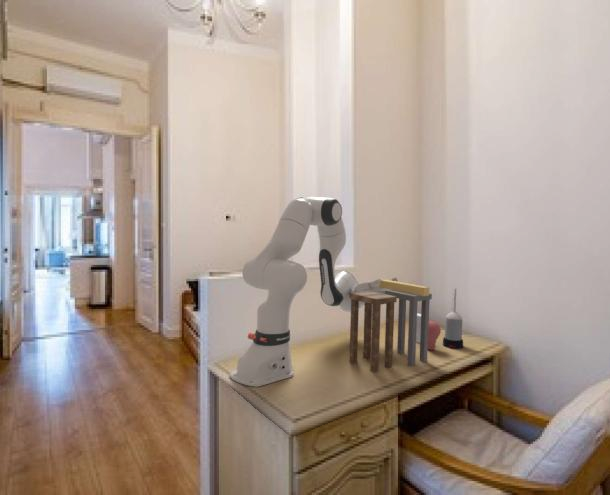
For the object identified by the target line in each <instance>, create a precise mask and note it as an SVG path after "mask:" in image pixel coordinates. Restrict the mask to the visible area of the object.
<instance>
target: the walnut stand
mask: <svg viewBox="0 0 610 495" xmlns="http://www.w3.org/2000/svg"><path fill="white" fill-rule="evenodd" d="M349 298H350V299H351V312H350V326H349V327H350V330H349V331H350V332H349V362H350V363H351V364H355V363H357V362H358V343H359V341H358V339H359V311H360V308H359V301H362V302H365V305H364V314H363V315H364V316H363V317H364V318H363V349H362V350H363V352H362V359H364V360H370V372H372V373H374V374H375V373H378V372H379V370H380V369H379V368H380V367H379V366H380V339H381V337H380V336H381V305H385V307H386V308H385V331H384V332H385V333H384V336H385V337H384V361H383V362H384V364H383V366H384V368H386V369H391V368H392V369H393V358H394V355H393V354H394V351H393V350H394V330H395V329H394V327H395V326H394V325H395V303H397V299H398V298H397V297H396V296H392V295H387V294H382V293H377V292H373V291H362V292H353V293H349Z"/></svg>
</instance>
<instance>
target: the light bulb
mask: <svg viewBox="0 0 610 495" xmlns="http://www.w3.org/2000/svg"><path fill="white" fill-rule="evenodd" d="M441 333H442V332H441V326H440V324H438V323H437V322H435V321H434V320H429V328H428V351H429V350H430V351H432V350H435V349H436V343H437V339H438V338H439V336H440V334H441Z"/></svg>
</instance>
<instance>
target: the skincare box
mask: <svg viewBox="0 0 610 495" xmlns="http://www.w3.org/2000/svg"><path fill="white" fill-rule="evenodd" d="M420 334H421V313H418V312H417V329H416V343H418V344H420Z"/></svg>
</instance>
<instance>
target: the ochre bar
mask: <svg viewBox="0 0 610 495" xmlns="http://www.w3.org/2000/svg"><path fill="white" fill-rule="evenodd" d="M390 280H391V279H381V281H382V283H381V284H379V287H380V288H385V289H390V290H395V291H401V292H406V293H411V294H416V295H421V296H428V295H429V293H430V286H424V285H419V284H412V283H409V282H408V283H406V282H403V281H402V282H401V281H398V282H396V281H390Z"/></svg>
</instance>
